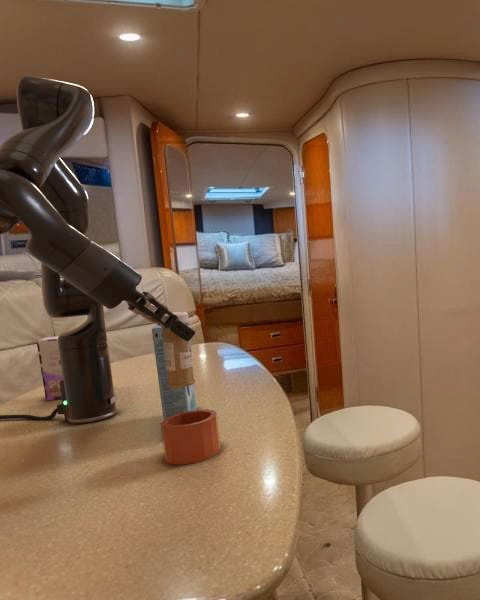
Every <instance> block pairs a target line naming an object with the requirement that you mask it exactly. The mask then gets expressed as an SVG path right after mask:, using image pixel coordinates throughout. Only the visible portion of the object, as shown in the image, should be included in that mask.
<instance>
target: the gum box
mask: <svg viewBox="0 0 480 600" xmlns="http://www.w3.org/2000/svg"><path fill="white" fill-rule="evenodd" d="M151 334H152V341H153V348H154V356H155V364H156V373H157V380H158V387H159V395H160V401H161V410H162V418H163V419H162V420H164V419H166V418H167V417H169V416H172V415H175V414H178V413H182V412H186V411H192V410H197V400H196V393H195V386H194V384H195V383H194V384H192V385H190V386H187V387H184V388H170V387H168V376H167V370H166V363H165V354H164V346H163V333H162V327H161V326H158V325H157V324H155V325H154V326H153V327H152V328H151Z"/></svg>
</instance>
